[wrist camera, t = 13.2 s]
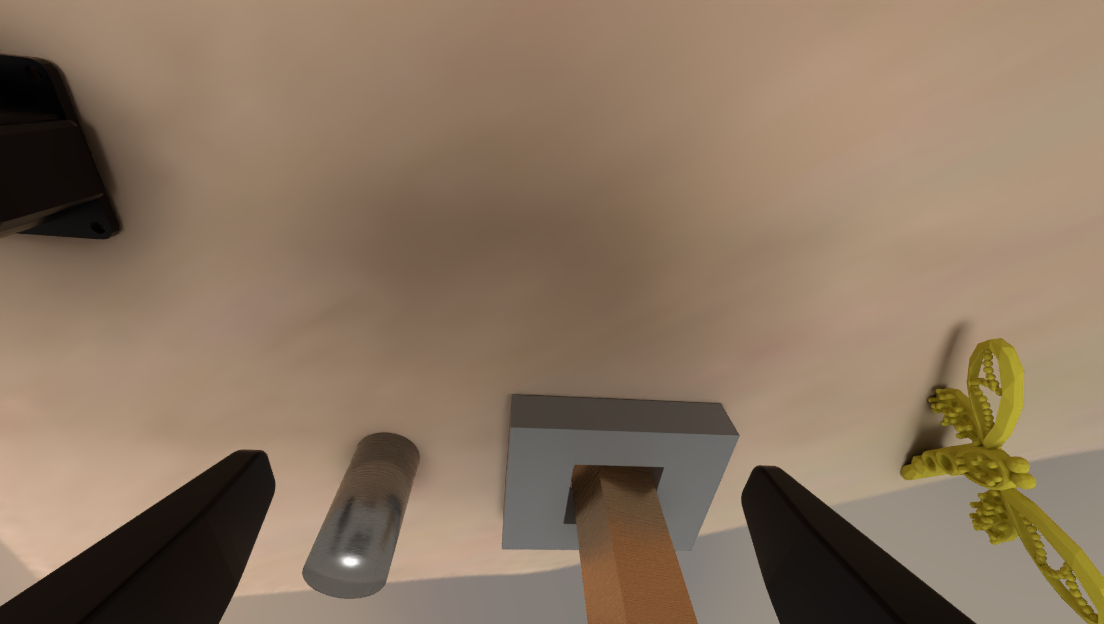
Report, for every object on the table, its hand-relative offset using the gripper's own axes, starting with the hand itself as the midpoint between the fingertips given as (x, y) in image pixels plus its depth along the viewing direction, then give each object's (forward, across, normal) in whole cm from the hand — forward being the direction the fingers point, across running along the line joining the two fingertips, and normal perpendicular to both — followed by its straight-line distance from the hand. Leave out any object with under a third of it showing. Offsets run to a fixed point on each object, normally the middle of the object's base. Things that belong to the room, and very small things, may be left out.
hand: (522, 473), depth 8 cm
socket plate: (+13, -6, +14) cm, 20 cm away
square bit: (+13, -6, +14) cm, 20 cm away
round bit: (+13, +7, +14) cm, 20 cm away
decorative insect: (+13, -26, +8) cm, 30 cm away
